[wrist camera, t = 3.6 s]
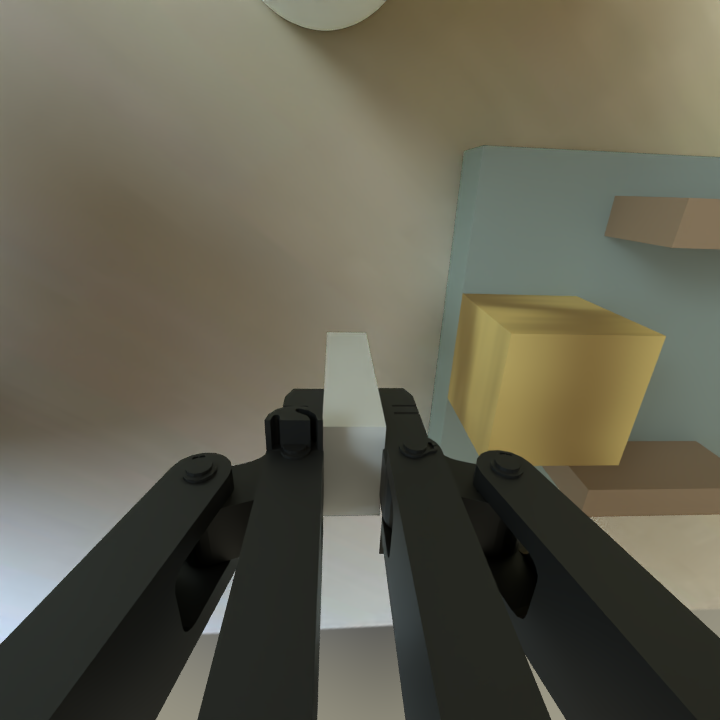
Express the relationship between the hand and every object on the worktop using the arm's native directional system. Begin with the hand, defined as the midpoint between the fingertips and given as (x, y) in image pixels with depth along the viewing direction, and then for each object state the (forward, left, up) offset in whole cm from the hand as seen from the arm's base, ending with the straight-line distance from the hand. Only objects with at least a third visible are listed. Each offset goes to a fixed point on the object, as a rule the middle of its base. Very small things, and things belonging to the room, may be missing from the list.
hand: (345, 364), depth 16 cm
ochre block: (+7, 0, -2) cm, 8 cm away
